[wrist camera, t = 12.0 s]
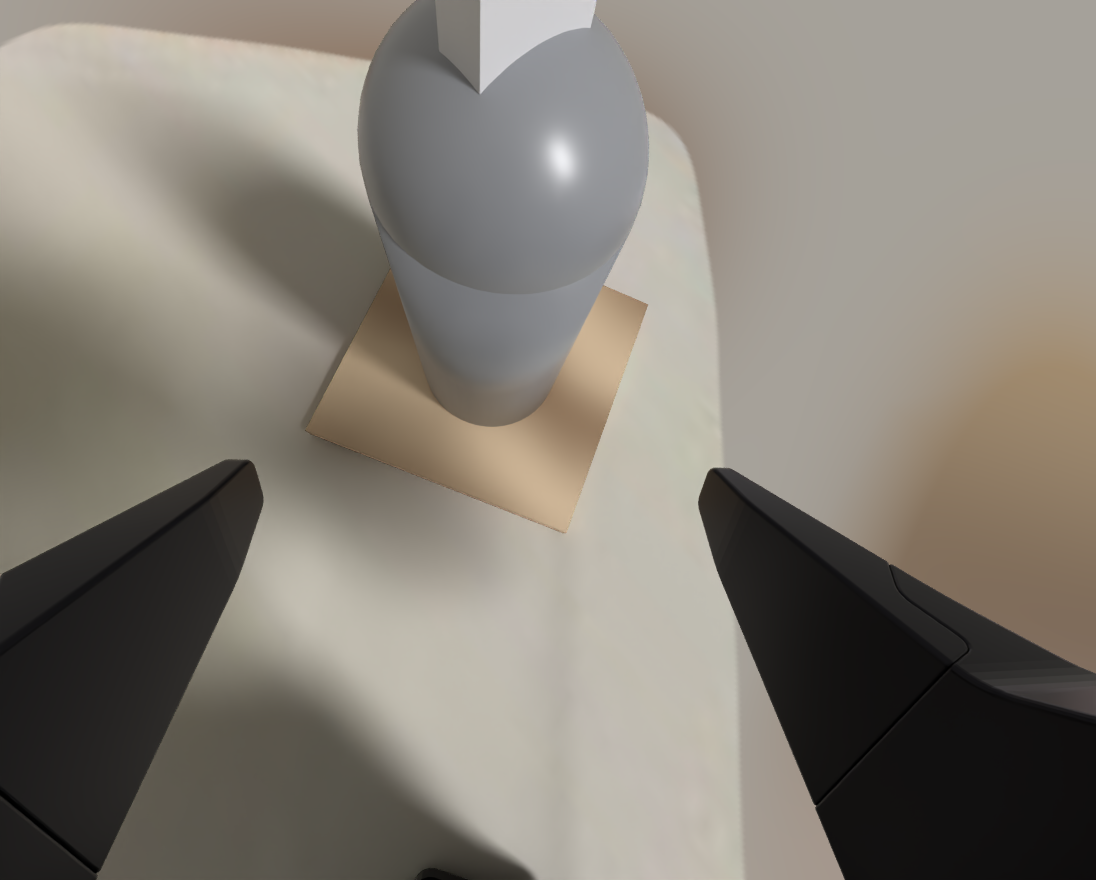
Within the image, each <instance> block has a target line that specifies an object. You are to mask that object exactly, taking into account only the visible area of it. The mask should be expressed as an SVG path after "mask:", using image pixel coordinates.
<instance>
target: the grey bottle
mask: <svg viewBox="0 0 1096 880" xmlns="http://www.w3.org/2000/svg"><path fill="white" fill-rule="evenodd" d="M596 1H597V0H416V1H415V2H414V3H412V4H411V5H410V6H409V7H408V8H407V9H406V11H404V12H403V13H402V14H401V16H400V17H399V18H398V19H397V20H396V21H395V22H394V23H393V24H392V26H391V27H390V29H389V31H388V32H387V34H386V35H385V37H384V38H383V40H382V42H381V43H380V45H379V47H378V49H377V50H376V52H375V55H374V57H373V59H372V62H371V64H370V67H369V70H368V73H367V75H366V78H365V82H364V86H363V90H362V94H361V99H360V107H359V115H358V129H357V131H358V150H359V161H360V167H361V171H362V176H363V180H364V184H365V188H366V192H367V196H368V199H369V202H370V205H371V208H372V211H373V214H374V217H375V221H376V224H377V227H378V230H379V233H380V236H381V239H382V242H383V245H384V248H385V252H386V255H387V258H388V261H389V264H390V267H391V270H392V273H393V276H394V280H395V283H396V286H397V289H398V292H399V295H400V298H401V301H402V304H403V308H404V311H405V314H406V317H407V320H408V323H409V326H410V329H411V332H412V335H413V339H414V342H415V345H416V348H417V351H418V354H419V357H420V360H421V363H422V367H423V370H424V373H425V376H426V379H427V382H428V384H429V387H430V389H431V391H432V393H433V395H434V396H435V398H436V399H437V400H438V402H439V403H440V404H441V405H442V406H443V407H444V408H445V409H446V410H447V411H448V412H450V413H451V414H452V415H454V416H456V417H457V418H459V419H461V420H463V421H466V422H468V423H471V424H475V425H479V426H486V427H497V426H505V425H509V424H513V423H515V422H518V421H520V420H522V419H524V418H526V417H528V416H529V415H530V414H532V413H533V412H534V411H535V410H537V409H538V408H539V407H540V406H541V404H542V403H543V402H544V400H545V399H546V397H547V396H548V394H549V392H550V390H551V388H552V386H553V384H554V382H555V380H556V378H557V376H558V374H559V372H560V370H561V368H562V366H563V364H564V362H565V360H566V358H567V356H568V354H569V352H570V350H571V348H572V346H573V344H574V342H575V340H576V338H577V336H578V334H579V332H580V330H581V328H582V326H583V324H584V322H585V320H586V318H587V316H588V314H589V312H590V310H591V308H592V306H593V305H594V303H595V301H596V299H597V297H598V295H599V293H600V291H601V289H602V287H603V285H604V283H605V281H606V279H607V277H608V275H609V273H610V271H611V269H612V267H613V265H614V263H615V261H616V259H617V257H618V255H619V253H620V251H621V249H622V247H623V245H624V243H625V241H626V239H627V237H628V235H629V233H630V231H631V228H632V226H633V223H634V221H635V218H636V216H637V213H638V211H639V208H640V206H641V202H642V198H643V194H644V189H645V184H646V179H647V174H648V161H649V136H648V125H647V118H646V112H645V107H644V102H643V98H642V95H641V92H640V89H639V86H638V83H637V80H636V77H635V74H634V72H633V69H632V67H631V65H630V63H629V61H628V59H627V57H626V56H625V54H624V52H623V50H622V48H621V47H620V45H619V43H618V42H617V40H616V39H615V37H614V36H613V34H612V33H611V32H610V30H609V29H608V28H607V27H606V26H605V25H604V23H603V22H602V21H601V20H600V19H599V18H598V17H597V16H596V15H595V14H594V10H595V6H596Z"/></svg>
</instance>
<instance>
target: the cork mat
mask: <svg viewBox="0 0 1096 880" xmlns="http://www.w3.org/2000/svg"><path fill="white" fill-rule="evenodd" d="M647 306H648V304H646V303H643V302H641V301H639V300H636V299H634V298H632V297H629V296H627V295H625V294H622V293H620V292H618V291H615V290H613V289H611V288H608V287H606V286H604V285H603V287H602V289H601V291H600V293H599V295H598V297H597V299H596V301H595V303H594V305H593V306H592V308H591V310H590V312H589V314H588V316H587V318H586V320H585V322H584V324H583V326H582V328H581V330H580V332H579V334H578V336H577V338H576V340H575V342H574V344H573V346H572V348H571V350H570V352H569V354H568V356H567V358H566V360H565V362H564V364H563V366H562V368H561V370H560V372H559V374H558V376H557V378H556V380H555V382H554V384H553V386H552V388H551V390H550V392H549V394H548V396H547V397H546V399H545V400H544V402H543V403H542V404H541V406H540V407H539V408H538V409H537V410H535V411H534V412H533V413H532V414H530V415H529V416H528V417H526V418H524V419H522V420H520V421H518V422H515V423H513V424H509V425H505V426H497V427H486V426H479V425H475V424H471V423H468V422H466V421H463V420H461V419H459V418H457V417H456V416H454V415H452V414H451V413H450V412H448V411H447V410H446V409H445V408H444V407H443V406H442V405H441V404H440V403H439V402H438V400H437V399H436V398H435V396H434V395H433V393H432V391H431V389H430V387H429V384H428V382H427V379H426V376H425V373H424V370H423V367H422V363H421V360H420V357H419V354H418V351H417V348H416V345H415V342H414V339H413V335H412V332H411V329H410V326H409V323H408V320H407V317H406V314H405V311H404V308H403V304H402V301H401V298H400V295H399V292H398V289H397V286H396V283H395V280H394V276H393V273H392V270H391V268H390V270H389V272H388V274H387V276H386V278H385V280H384V281H383V283H382V285H381V287H380V289H379V291H378V293H377V295H376V297H375V299H374V300H373V302H372V304H371V306H370V308H369V310H368V312H367V314H366V316H365V318H364V319H363V321H362V323H361V325H360V327H359V329H358V331H357V333H356V335H355V337H354V338H353V340H352V342H351V344H350V346H349V348H348V350H347V352H346V354H345V356H344V357H343V359H342V361H341V363H340V365H339V367H338V369H337V371H336V373H335V375H334V376H333V378H332V380H331V382H330V384H329V386H328V388H327V390H326V392H325V394H324V395H323V397H322V399H321V401H320V403H319V405H318V407H317V409H316V411H315V413H314V414H313V416H312V418H311V420H310V422H309V424H308V426H307V428H306V430H305V431H307V432H308V433H310V434H312V435H315V436H317V437H320V438H322V439H325V440H327V441H330V442H332V443H335V444H337V445H340V446H343V447H345V448H348V449H350V450H353V451H355V452H358V453H360V454H363V455H365V456H368V457H371V458H373V459H376V460H378V461H381V462H383V463H386V464H388V465H391V466H393V467H396V468H399V469H401V470H404V471H406V472H409V473H411V474H414V475H416V476H419V477H421V478H424V479H427V480H429V481H432V482H434V483H437V484H439V485H442V486H444V487H447V488H450V489H452V490H455V491H457V492H460V493H462V494H465V495H467V496H470V497H472V498H475V499H478V500H480V501H483V502H485V503H488V504H490V505H493V506H495V507H498V508H500V509H503V510H506V511H508V512H511V513H513V514H516V515H518V516H521V517H523V518H526V519H528V520H531V521H534V522H536V523H539V524H541V525H544V526H546V527H549V528H551V529H554V530H556V531H559V532H562V533H566V532H567V530H568V527H569V524H570V521H571V518H572V516H573V513H574V510H575V507H576V505H577V502H578V499H579V496H580V493H581V491H582V488H583V485H584V482H585V479H586V477H587V474H588V471H589V468H590V465H591V463H592V460H593V457H594V454H595V451H596V449H597V446H598V443H599V440H600V438H601V435H602V432H603V429H604V426H605V424H606V421H607V418H608V415H609V412H610V410H611V407H612V404H613V401H614V398H615V396H616V393H617V390H618V387H619V385H620V382H621V379H622V376H623V373H624V371H625V368H626V365H627V362H628V359H629V357H630V354H631V351H632V348H633V345H634V343H635V340H636V337H637V334H638V331H639V329H640V326H641V323H642V320H643V318H644V315H645V312H646V309H647Z"/></svg>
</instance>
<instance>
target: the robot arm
mask: <svg viewBox="0 0 1096 880" xmlns="http://www.w3.org/2000/svg"><path fill="white" fill-rule="evenodd" d="M262 506H263V492H262V489H261V486H260V482H259V479H258V475H257V472H256V468H255V466H254V464H253V463H252V462H251V461H249V460H234V459H228V460H224V461H222V462H220V463H218V464H216V465H214V466H212V467H210V468H208V469H206V470H204V471H202V472H200V473H199V474H197V475H195V476H193V477H191V478H189V479H187V480H185V481H183V482H181V483H179V484H177V485H175V486H173V487H171V488H169V489H167V490H165V491H163V492H161V493H159V494H157V495H156V496H154V497H152V498H150V499H148V500H146V501H144V502H142V503H140V504H138V505H136V506H134V507H132V508H130V509H128V510H126V511H124V512H122V513H120V514H118V515H116V516H114V517H113V518H111V519H109V520H107V521H105V522H103V523H101V524H99V525H97V526H95V527H93V528H91V529H89V530H87V531H85V532H83V533H81V534H79V535H77V536H75V537H73V538H71V539H69V540H68V541H66V542H64V543H62V544H60V545H58V546H56V547H54V548H52V549H50V550H48V551H46V552H44V553H42V554H40V555H38V556H36V557H34V558H32V559H30V560H28V561H26V562H25V563H23V564H21V565H19V566H17V567H15V568H13V569H11V570H9V571H7V572H5V573H3V574H2V575H1V577H0V880H96V879H97V874H96V873H98V872H99V871H100V870H101V867H102V865H103V863H104V861H105V859H106V857H107V855H108V853H109V851H110V848H111V846H112V844H113V842H114V840H115V838H116V836H117V834H118V832H119V829H120V827H121V825H122V823H123V821H124V819H125V817H126V815H127V813H128V810H129V808H130V806H131V804H132V802H133V800H134V798H135V796H136V794H137V792H138V789H139V787H140V785H141V783H142V781H143V779H144V777H145V775H146V773H147V770H148V768H149V766H150V764H151V762H152V760H153V758H154V756H155V754H156V751H157V749H158V747H159V745H160V743H161V741H162V739H163V737H164V735H165V732H166V730H167V728H168V726H169V724H170V722H171V720H172V718H173V716H174V713H175V711H176V709H177V707H178V705H179V703H180V701H181V699H182V697H183V694H184V692H185V690H186V688H187V686H188V684H189V682H190V680H191V678H192V676H193V673H194V671H195V669H196V667H197V665H198V663H199V661H200V659H201V657H202V654H203V652H204V650H205V648H206V646H207V644H208V642H209V640H210V638H211V635H212V633H213V631H214V629H215V627H216V625H217V623H218V621H219V619H220V616H221V614H222V612H223V610H224V608H225V606H226V604H227V602H228V600H229V597H230V595H231V593H232V591H233V589H234V587H235V584H236V582H237V580H238V578H239V575H240V572H241V570H242V567H243V564H244V561H245V558H246V555H247V552H248V549H249V546H250V543H251V540H252V537H253V534H254V531H255V528H256V525H257V522H258V519H259V516H260V513H261V510H262ZM698 506H699V511H700V514H701V518H702V521H703V525H704V528H705V532H706V535H707V539H708V542H709V546H710V549H711V552H712V556H713V559H714V563H715V566H716V569H717V571H718V574H719V577H720V579H721V582H722V584H723V587H724V589H725V591H726V594H727V596H728V599H729V601H730V603H731V606H732V608H733V611H734V613H735V615H736V618H737V620H738V623H739V625H740V628H741V630H742V632H743V635H744V637H745V639H746V642H747V644H748V647H749V649H750V652H751V654H752V656H753V659H754V661H755V663H756V666H757V668H758V671H759V673H760V676H761V678H762V680H763V683H764V685H765V688H766V690H767V693H768V695H769V697H770V700H771V702H772V705H773V707H774V709H775V712H776V714H777V717H778V719H779V721H780V724H781V726H782V729H783V731H784V733H785V736H786V738H787V741H788V743H789V746H790V748H791V750H792V753H793V755H794V757H795V760H796V762H797V765H798V767H799V769H800V772H801V775H802V777H803V779H804V782H805V784H806V787H807V789H808V791H809V794H810V796H811V799H812V801H813V803H814V805H817V806H816V807H815V809H816V811H817V814H818V816H819V819H820V821H821V824H822V826H823V828H824V831H825V833H826V835H827V838H828V840H829V843H830V845H831V848H832V850H833V852H834V855H835V857H836V860H837V862H838V864H839V867H840V869H841V872H842V874H843V876H844V879H845V880H1096V674H1095V673H1093V672H1091V671H1088V670H1086V669H1084V668H1081V667H1078V666H1077V665H1075V664H1073V663H1071V662H1069V661H1067V660H1065V659H1063V658H1061V657H1059V656H1057V655H1055V654H1053V653H1051V652H1049V651H1048V650H1046V649H1044V648H1042V647H1040V646H1038V645H1036V644H1034V643H1032V642H1031V641H1029V640H1027V639H1025V638H1023V637H1021V636H1019V635H1018V634H1016V633H1014V632H1012V631H1010V630H1008V629H1006V628H1004V627H1003V626H1001V625H999V624H997V623H995V622H993V621H991V620H989V619H987V618H986V617H984V616H982V615H980V614H978V613H976V612H974V611H973V610H971V609H969V608H967V607H965V606H963V605H962V604H960V603H958V602H956V601H954V600H952V599H951V598H949V597H947V596H945V595H943V594H942V593H940V592H938V591H936V590H935V589H933V588H931V587H930V586H928V585H926V584H924V583H922V582H921V581H919V580H917V579H916V578H914V577H912V576H911V575H909V574H907V573H905V572H904V571H902V570H900V569H899V568H897V567H896V566H894V565H889V564H888V562H887V561H885V560H884V559H882V558H880V557H878V556H877V555H875V554H873V553H872V552H870V551H868V550H867V549H865V548H863V547H862V546H860V545H858V544H857V543H855V542H853V541H852V540H850V539H848V538H847V537H845V536H843V535H841V534H840V533H838V532H837V531H835V530H833V529H831V528H830V527H828V526H826V525H825V524H823V523H821V522H820V521H818V520H816V519H815V518H813V517H811V516H810V515H808V514H806V513H805V512H803V511H801V510H800V509H798V508H796V507H795V506H793V505H791V504H789V503H788V502H786V501H785V500H783V499H781V498H779V497H778V496H776V495H774V494H773V493H771V492H769V491H768V490H766V489H764V488H763V487H761V486H759V485H758V484H756V483H754V482H753V481H751V480H749V479H748V478H746V477H744V476H742V475H741V474H739V473H738V472H736V471H734V470H732V469H730V468H712V469H710V470H709V472H708V473H707V476H706V479H705V482H704V484H703V487H702V490H701V493H700V496H699V501H698ZM415 880H468V879H465V878H462V877H459V876H456V875H453V874H450V873H447V872H444V871H441V870H438V869H435V868H428V869H425V870H423V871H422V872H420V873H419V874H418V875H417V877H416V879H415Z"/></svg>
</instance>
